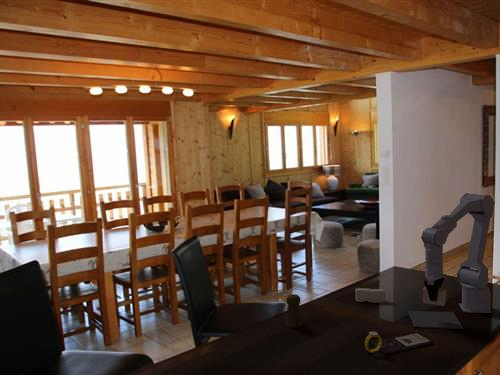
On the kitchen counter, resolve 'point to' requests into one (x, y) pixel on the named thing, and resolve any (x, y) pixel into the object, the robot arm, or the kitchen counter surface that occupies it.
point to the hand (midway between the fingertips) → (434, 298)
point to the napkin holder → (370, 295)
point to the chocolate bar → (401, 343)
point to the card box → (440, 299)
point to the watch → (371, 334)
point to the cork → (293, 311)
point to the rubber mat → (435, 320)
